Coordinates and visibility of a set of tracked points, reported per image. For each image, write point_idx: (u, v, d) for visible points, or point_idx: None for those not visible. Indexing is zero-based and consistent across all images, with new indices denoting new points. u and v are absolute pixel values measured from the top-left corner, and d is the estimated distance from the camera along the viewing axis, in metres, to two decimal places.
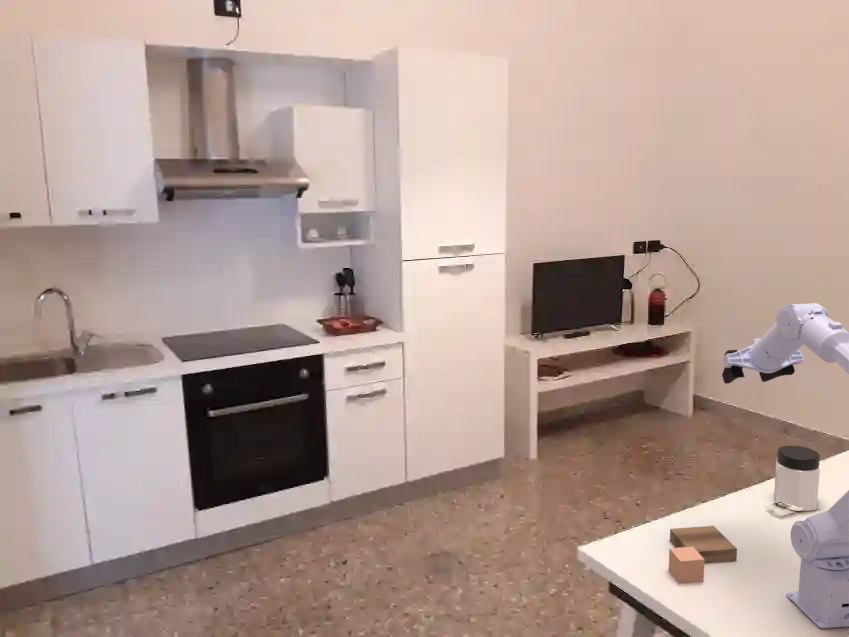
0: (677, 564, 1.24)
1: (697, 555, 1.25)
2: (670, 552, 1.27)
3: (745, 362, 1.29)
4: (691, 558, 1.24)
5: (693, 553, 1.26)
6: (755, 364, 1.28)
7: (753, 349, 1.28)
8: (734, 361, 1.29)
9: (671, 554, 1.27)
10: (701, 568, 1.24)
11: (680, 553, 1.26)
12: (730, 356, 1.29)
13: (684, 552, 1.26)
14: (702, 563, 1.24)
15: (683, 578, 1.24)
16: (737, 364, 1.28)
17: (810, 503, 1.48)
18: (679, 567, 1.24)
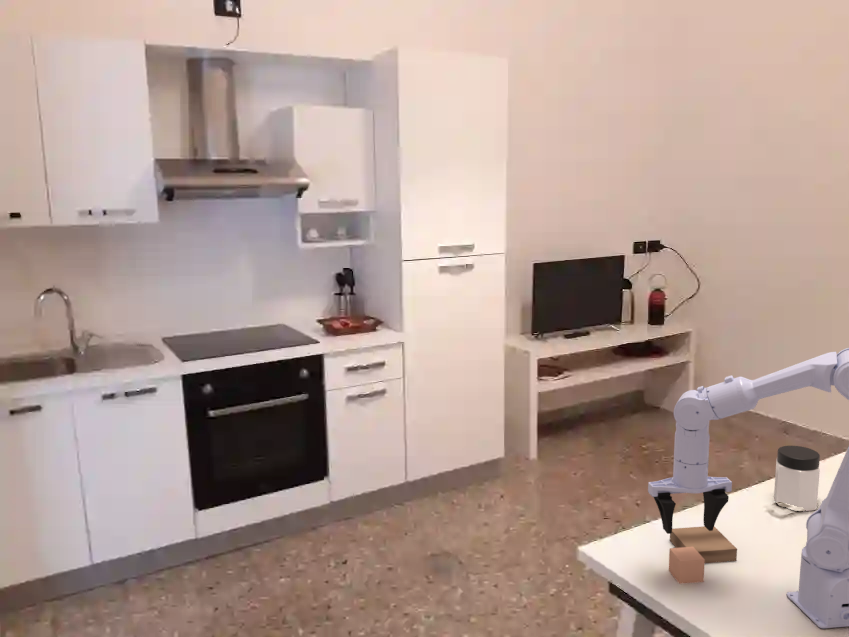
0: (677, 564, 1.24)
1: (697, 556, 1.25)
2: (670, 552, 1.27)
3: None
4: (691, 558, 1.24)
5: (693, 553, 1.26)
6: (680, 485, 1.21)
7: (673, 473, 1.23)
8: None
9: (671, 554, 1.27)
10: (701, 568, 1.24)
11: (680, 553, 1.26)
12: None
13: (685, 552, 1.26)
14: (702, 563, 1.24)
15: (683, 578, 1.24)
16: (661, 488, 1.21)
17: (810, 503, 1.48)
18: (679, 567, 1.24)
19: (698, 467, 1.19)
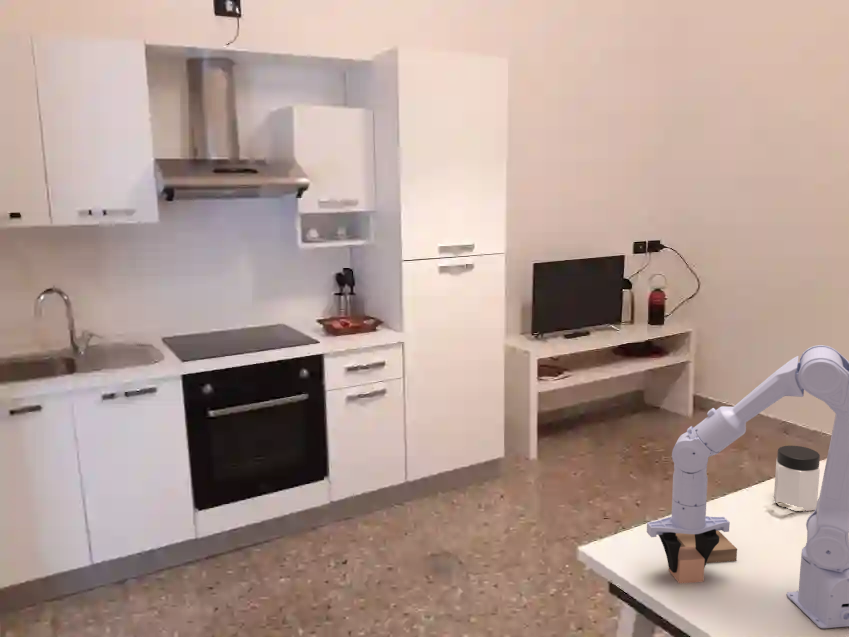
0: None
1: (697, 555, 1.25)
2: None
3: (668, 528, 1.23)
4: (691, 557, 1.24)
5: (693, 552, 1.26)
6: (678, 526, 1.23)
7: None
8: None
9: None
10: (701, 567, 1.24)
11: (680, 552, 1.26)
12: None
13: (684, 551, 1.26)
14: (702, 562, 1.24)
15: (683, 577, 1.24)
16: (660, 528, 1.23)
17: (810, 503, 1.48)
18: (679, 567, 1.24)
19: (696, 509, 1.21)
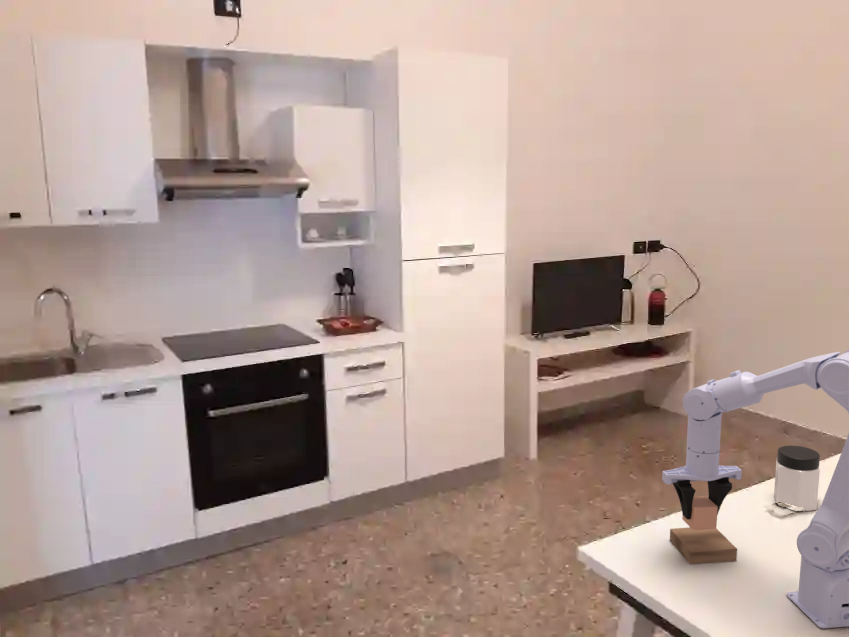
0: None
1: (710, 503, 1.29)
2: None
3: None
4: (704, 505, 1.29)
5: (706, 501, 1.30)
6: (693, 474, 1.27)
7: (686, 462, 1.30)
8: None
9: None
10: (714, 515, 1.29)
11: (694, 501, 1.30)
12: None
13: (698, 500, 1.31)
14: (715, 510, 1.28)
15: (697, 524, 1.29)
16: (675, 476, 1.27)
17: (810, 503, 1.48)
18: (693, 514, 1.28)
19: (710, 456, 1.26)
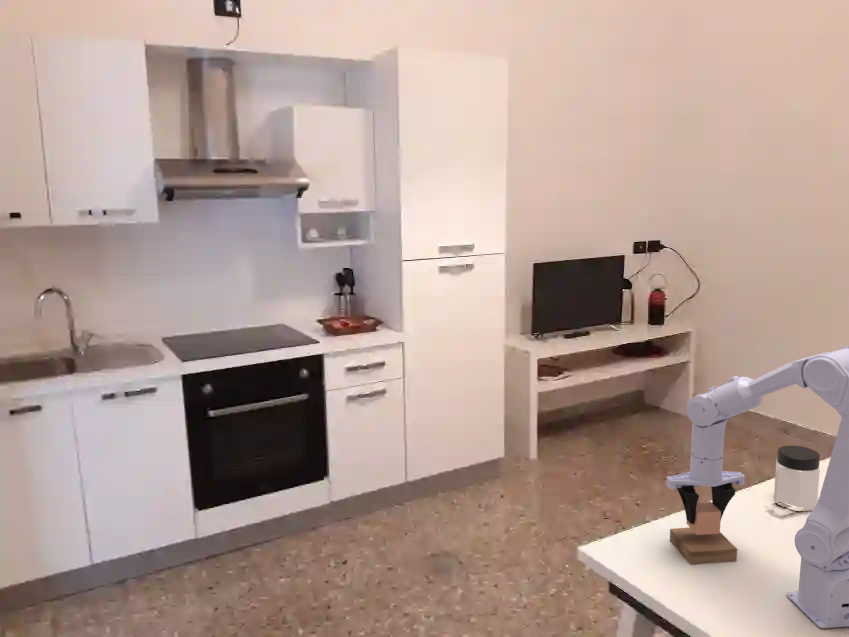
0: None
1: (714, 508, 1.32)
2: None
3: (687, 481, 1.31)
4: (708, 510, 1.31)
5: (710, 506, 1.33)
6: (696, 479, 1.30)
7: (690, 468, 1.32)
8: None
9: None
10: (718, 520, 1.31)
11: (698, 506, 1.33)
12: None
13: (702, 505, 1.33)
14: (719, 515, 1.31)
15: (701, 529, 1.31)
16: (679, 481, 1.30)
17: (810, 503, 1.48)
18: (697, 519, 1.31)
19: (714, 462, 1.28)
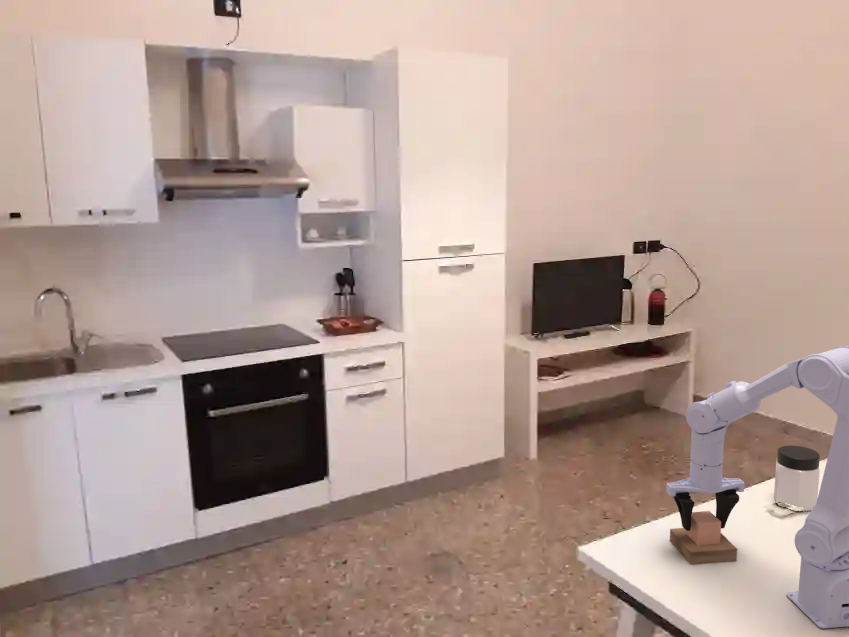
0: (696, 526, 1.32)
1: (714, 518, 1.32)
2: None
3: None
4: (708, 520, 1.32)
5: (710, 516, 1.33)
6: (696, 486, 1.30)
7: None
8: None
9: None
10: (718, 530, 1.32)
11: (698, 516, 1.33)
12: None
13: (702, 515, 1.34)
14: (719, 525, 1.31)
15: (702, 539, 1.32)
16: (679, 488, 1.30)
17: (810, 503, 1.48)
18: (697, 529, 1.31)
19: (713, 469, 1.28)
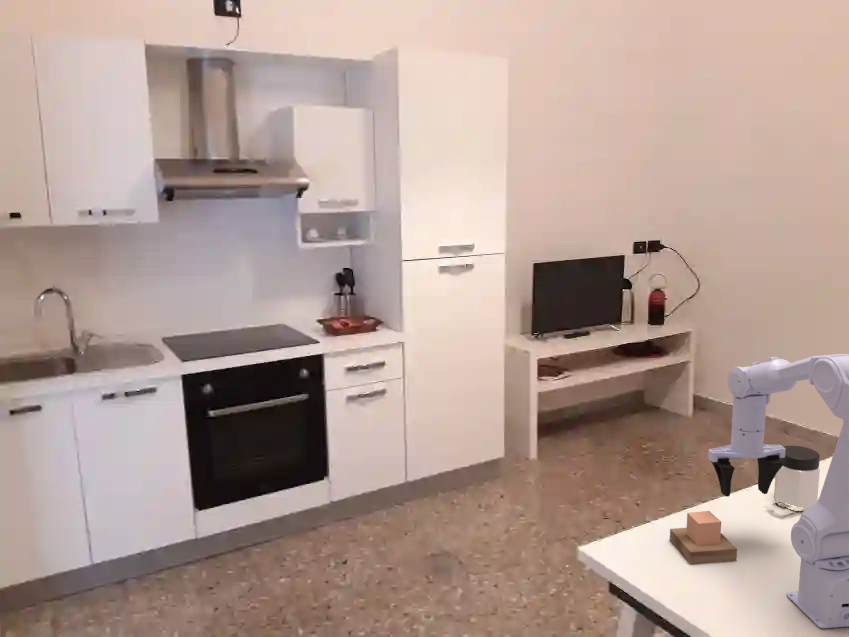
0: (696, 526, 1.32)
1: (714, 518, 1.32)
2: (688, 516, 1.35)
3: None
4: (708, 520, 1.32)
5: (710, 516, 1.33)
6: (738, 452, 1.32)
7: (731, 441, 1.34)
8: None
9: (689, 518, 1.34)
10: (718, 530, 1.32)
11: (698, 516, 1.33)
12: None
13: (702, 515, 1.34)
14: (719, 525, 1.31)
15: (702, 539, 1.32)
16: (721, 454, 1.32)
17: (810, 503, 1.48)
18: (697, 529, 1.31)
19: (756, 434, 1.30)
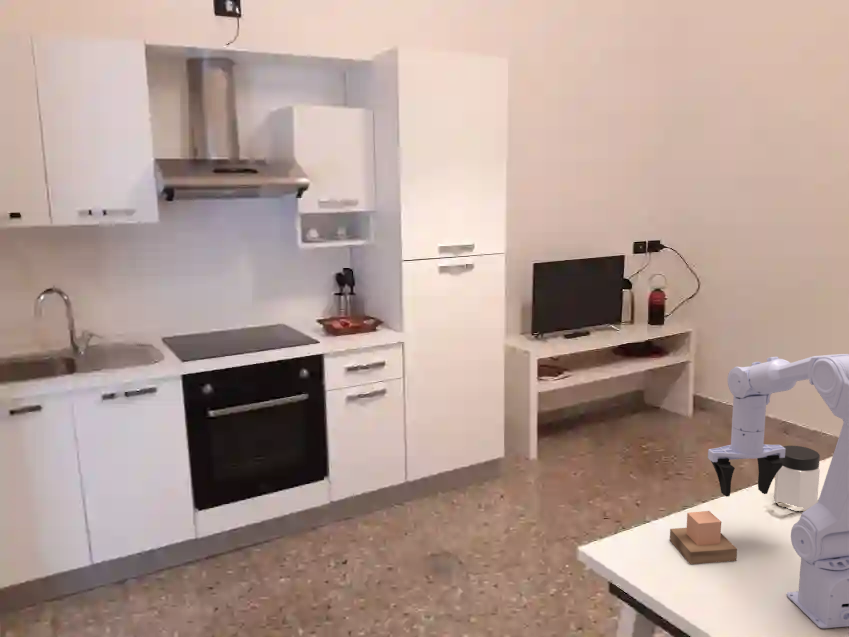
0: (696, 526, 1.32)
1: (714, 518, 1.32)
2: (688, 516, 1.35)
3: None
4: (708, 520, 1.32)
5: (710, 516, 1.33)
6: (738, 452, 1.32)
7: (731, 441, 1.34)
8: None
9: (689, 518, 1.34)
10: (718, 530, 1.32)
11: (698, 516, 1.33)
12: None
13: (702, 515, 1.34)
14: (719, 525, 1.31)
15: (702, 539, 1.32)
16: (721, 454, 1.32)
17: (810, 503, 1.48)
18: (697, 529, 1.31)
19: (756, 434, 1.30)
